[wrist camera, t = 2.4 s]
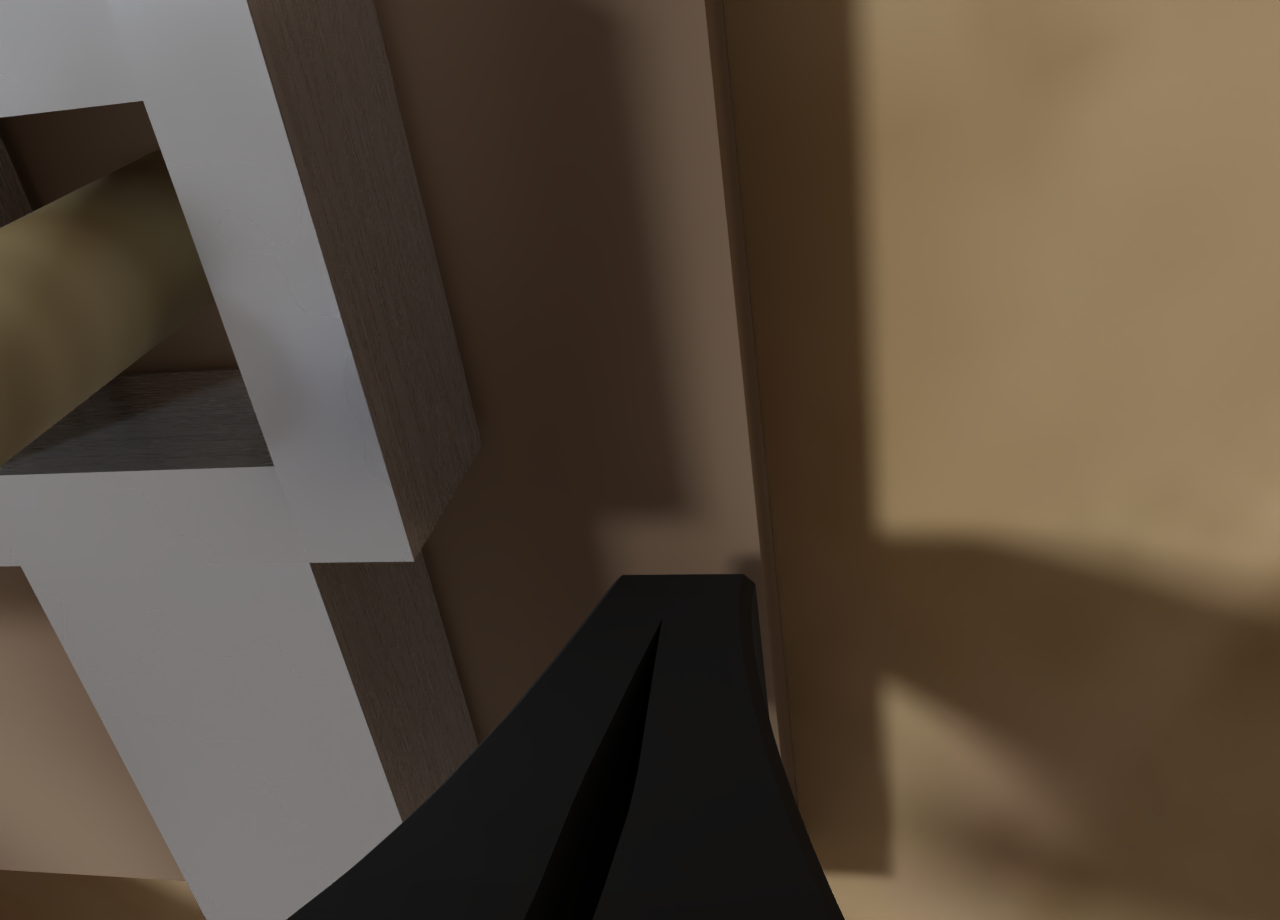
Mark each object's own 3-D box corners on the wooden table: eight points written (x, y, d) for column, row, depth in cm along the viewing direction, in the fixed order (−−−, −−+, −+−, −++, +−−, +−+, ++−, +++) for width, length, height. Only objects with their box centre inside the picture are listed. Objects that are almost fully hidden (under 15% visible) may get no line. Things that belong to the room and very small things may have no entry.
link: (-168, -21, 10) (-385, 17, 8) (349, -102, 9) (223, -76, 7) (246, 851, 15) (170, 981, 14) (585, 869, 14) (549, 1013, 13)
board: (653, -747, 7) (381, -1469, 3) (800, 844, 15) (779, 1239, 11) (-796, -341, 10) (-1905, -435, 6) (-47, 805, 18) (-315, 1102, 14)
